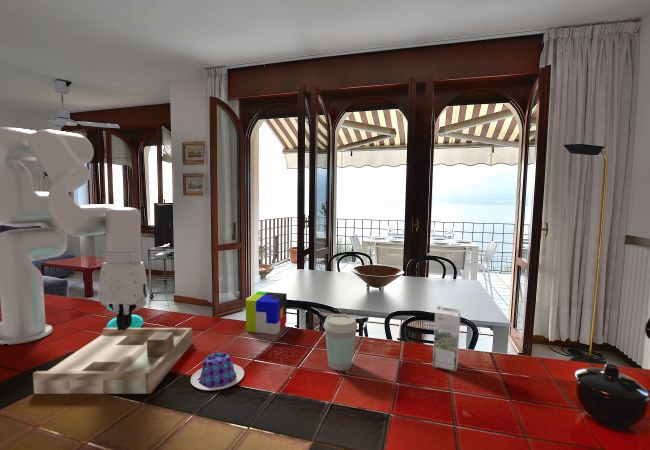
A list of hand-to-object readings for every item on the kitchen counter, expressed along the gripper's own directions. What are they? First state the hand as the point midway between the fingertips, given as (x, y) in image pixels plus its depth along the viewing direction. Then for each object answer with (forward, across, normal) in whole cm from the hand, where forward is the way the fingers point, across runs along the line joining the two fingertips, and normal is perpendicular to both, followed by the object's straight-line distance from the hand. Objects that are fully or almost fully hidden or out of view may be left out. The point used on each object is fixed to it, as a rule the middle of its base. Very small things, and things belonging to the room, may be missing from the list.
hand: (124, 328), depth 88 cm
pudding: (+8, +26, -8) cm, 29 cm away
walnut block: (+5, +10, -2) cm, 12 cm away
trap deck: (+8, +1, -2) cm, 9 cm away
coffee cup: (+6, +55, -2) cm, 56 cm away
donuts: (+10, -11, +20) cm, 25 cm away
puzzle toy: (+8, +33, +23) cm, 41 cm away
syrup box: (+5, +82, -2) cm, 82 cm away
